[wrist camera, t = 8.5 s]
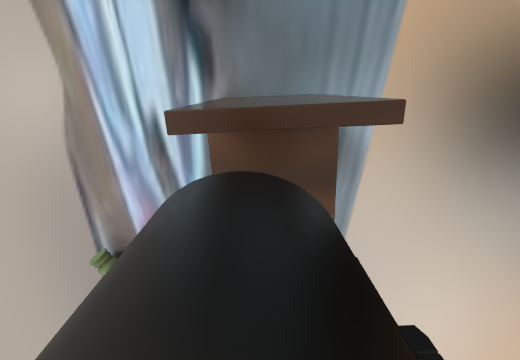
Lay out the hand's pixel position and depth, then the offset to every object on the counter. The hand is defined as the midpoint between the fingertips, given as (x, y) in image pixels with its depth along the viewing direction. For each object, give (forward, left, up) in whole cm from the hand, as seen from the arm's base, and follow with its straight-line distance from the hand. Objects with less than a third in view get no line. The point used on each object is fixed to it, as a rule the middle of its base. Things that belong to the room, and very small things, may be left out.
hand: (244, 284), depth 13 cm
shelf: (-1, +2, -25) cm, 25 cm away
